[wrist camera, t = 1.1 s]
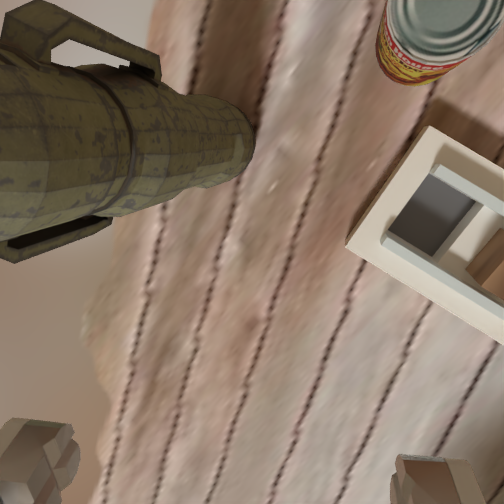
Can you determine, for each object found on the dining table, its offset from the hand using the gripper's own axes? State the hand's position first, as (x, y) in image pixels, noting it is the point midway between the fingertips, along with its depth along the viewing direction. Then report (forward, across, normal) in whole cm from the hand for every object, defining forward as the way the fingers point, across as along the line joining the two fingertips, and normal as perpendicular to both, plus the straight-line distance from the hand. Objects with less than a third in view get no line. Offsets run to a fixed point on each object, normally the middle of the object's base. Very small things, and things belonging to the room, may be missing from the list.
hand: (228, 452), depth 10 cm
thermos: (+39, -8, -1) cm, 40 cm away
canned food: (+39, +12, +9) cm, 41 cm away
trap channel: (+33, +21, -11) cm, 41 cm away
